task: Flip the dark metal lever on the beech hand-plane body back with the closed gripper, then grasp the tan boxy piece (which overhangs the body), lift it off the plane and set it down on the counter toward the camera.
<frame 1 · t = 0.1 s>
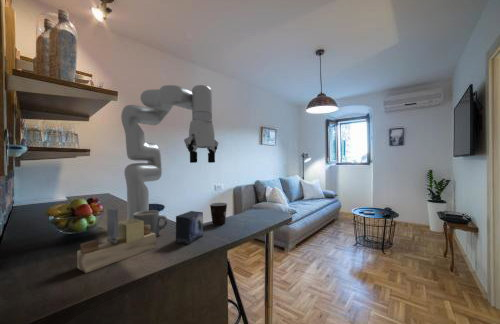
hand: (203, 162, 83), 31 cm above the bar counter, fingers open, 9 cm apart
coffee mug 2: (150, 235, 93), on the bar counter
plane body: (120, 256, 72), on the bar counter
small box: (190, 240, 87), on the bar counter
lever: (112, 225, 70), point 11 cm above the bar counter, hinge at 0.0°
coffee mug: (216, 224, 108), on the bar counter
tan boxy piece: (129, 238, 74), point 5 cm above the bar counter, touching plane body
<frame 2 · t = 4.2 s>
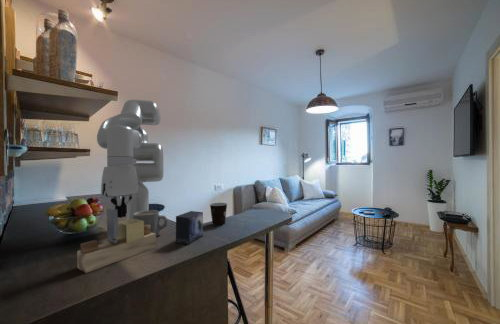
hand: (121, 216, 72), 13 cm above the bar counter, fingers closed
lever: (112, 225, 70), point 11 cm above the bar counter, hinge at 0.8°, touching gripper
everything else where it was.
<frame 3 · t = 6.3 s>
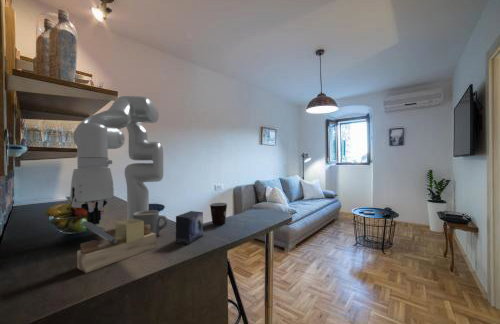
hand: (94, 223, 66), 13 cm above the bar counter, fingers closed
lever: (100, 233, 67), point 9 cm above the bar counter, hinge at 44.5°, touching gripper
everything else where it was.
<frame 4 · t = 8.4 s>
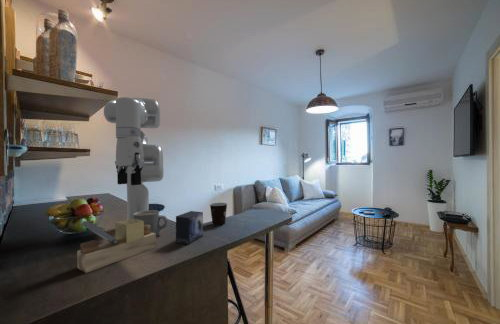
hand: (129, 184, 75), 24 cm above the bar counter, fingers open, 8 cm apart
lever: (100, 233, 67), point 9 cm above the bar counter, hinge at 44.5°
everything else where it was.
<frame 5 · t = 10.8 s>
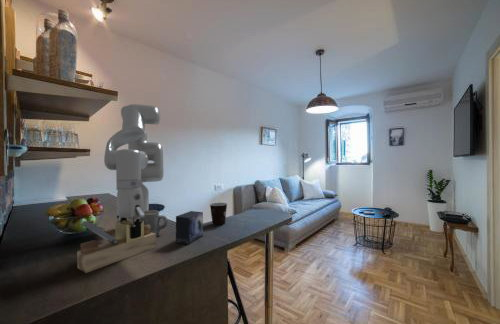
hand: (129, 235, 74), 6 cm above the bar counter, fingers closed on tan boxy piece, 7 cm apart
tan boxy piece: (129, 238, 74), point 5 cm above the bar counter, touching gripper, plane body
everything else where it was.
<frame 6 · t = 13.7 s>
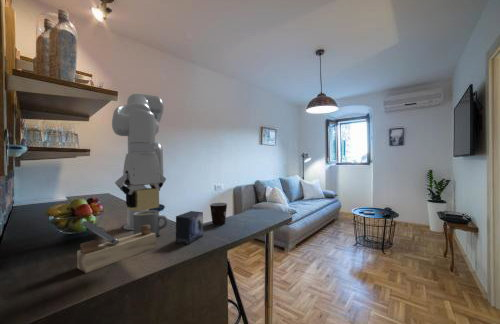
hand: (143, 204, 68), 18 cm above the bar counter, fingers closed on tan boxy piece, 7 cm apart
tan boxy piece: (143, 208, 68), point 17 cm above the bar counter, touching gripper
everything else where it was.
when the fingers open (2 cm above the bar counter, at t = 16.9 s): tan boxy piece drops 1 cm, on the bar counter.
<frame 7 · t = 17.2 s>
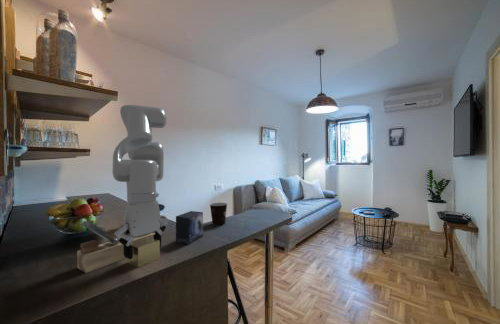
hand: (143, 252, 68), 3 cm above the bar counter, fingers open, 9 cm apart
tan boxy piece: (144, 261, 68), on the bar counter
everything else where it was.
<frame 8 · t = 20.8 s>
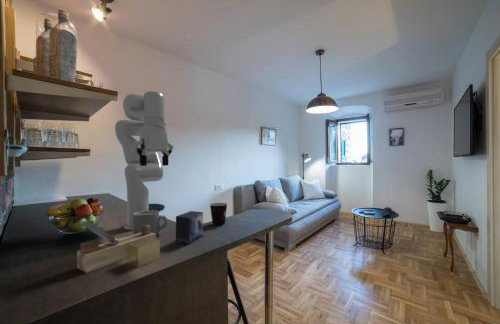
hand: (154, 165, 86), 30 cm above the bar counter, fingers open, 9 cm apart
nothing on the bar counter moved.
at the end: lever at +44° (first picture: +0°); tan boxy piece inside the target area (0.1 cm from its centre), on the bar counter; the gripper is holding nothing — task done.
